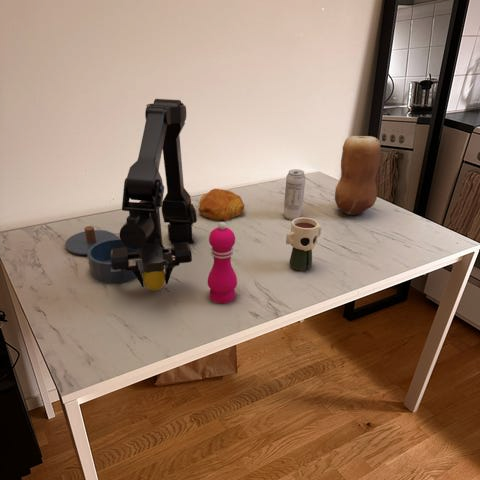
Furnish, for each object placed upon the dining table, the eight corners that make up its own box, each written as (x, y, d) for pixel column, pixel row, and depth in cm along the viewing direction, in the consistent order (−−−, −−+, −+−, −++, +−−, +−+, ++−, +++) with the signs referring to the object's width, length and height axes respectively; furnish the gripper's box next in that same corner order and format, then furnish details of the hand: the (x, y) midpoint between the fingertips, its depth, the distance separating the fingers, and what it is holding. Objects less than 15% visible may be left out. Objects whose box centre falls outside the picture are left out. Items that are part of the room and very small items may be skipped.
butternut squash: (346, 201, 162) (359, 127, 147) (380, 213, 155) (397, 136, 140) (323, 212, 154) (334, 136, 139) (357, 225, 147) (373, 146, 132)
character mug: (291, 277, 122) (295, 232, 114) (276, 265, 126) (280, 221, 119) (324, 267, 126) (330, 224, 118) (309, 256, 131) (314, 213, 123)
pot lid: (117, 231, 141) (114, 215, 138) (118, 254, 130) (115, 237, 126) (67, 235, 138) (63, 219, 135) (64, 259, 127) (60, 242, 123)
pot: (141, 250, 131) (138, 232, 128) (145, 286, 117) (143, 266, 113) (92, 255, 129) (88, 236, 125) (90, 292, 114) (86, 272, 111)
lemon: (162, 298, 113) (159, 270, 108) (141, 295, 114) (137, 267, 109) (169, 286, 117) (167, 258, 112) (148, 283, 118) (145, 256, 113)
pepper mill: (207, 288, 116) (205, 215, 104) (235, 288, 117) (237, 215, 105) (208, 305, 111) (206, 230, 98) (237, 304, 111) (239, 229, 99)
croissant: (215, 205, 162) (213, 183, 158) (251, 211, 154) (250, 187, 150) (188, 218, 153) (185, 194, 149) (225, 225, 144) (223, 200, 140)
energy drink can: (304, 215, 152) (309, 171, 143) (296, 222, 148) (300, 176, 139) (288, 211, 155) (292, 167, 146) (279, 217, 151) (283, 172, 142)
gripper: (106, 248, 97) (117, 308, 106) (194, 240, 100) (196, 298, 110) (106, 225, 105) (116, 282, 115) (187, 219, 109) (190, 274, 118)
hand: (154, 285), depth 114 cm, fingers closed on lemon, 5 cm apart
